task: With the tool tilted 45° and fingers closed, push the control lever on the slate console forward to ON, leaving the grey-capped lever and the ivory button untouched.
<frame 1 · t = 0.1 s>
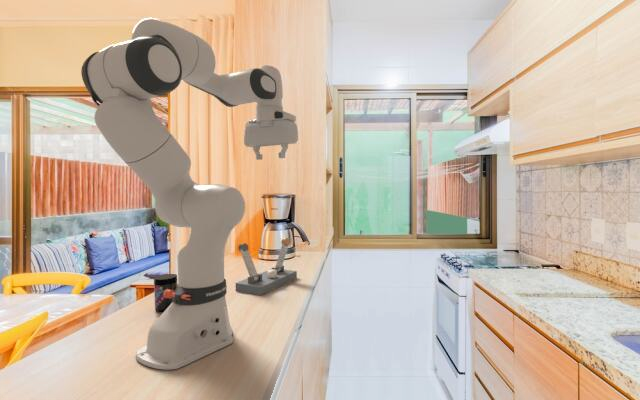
hand: (270, 158, 108), 48 cm above the kitchen counter, tool pointing down, fingers open, 8 cm apart
console: (268, 284, 126), on the kitchen counter
grey lever: (248, 262, 120), point 10 cm above the kitchen counter, hinge at 25.0°
supplement container: (166, 309, 102), on the kitchen counter
ivory button: (272, 273, 125), point 5 cm above the kitchen counter, slide at 0.0 cm
control lever: (282, 255, 131), point 10 cm above the kitchen counter, hinge at -20.0°
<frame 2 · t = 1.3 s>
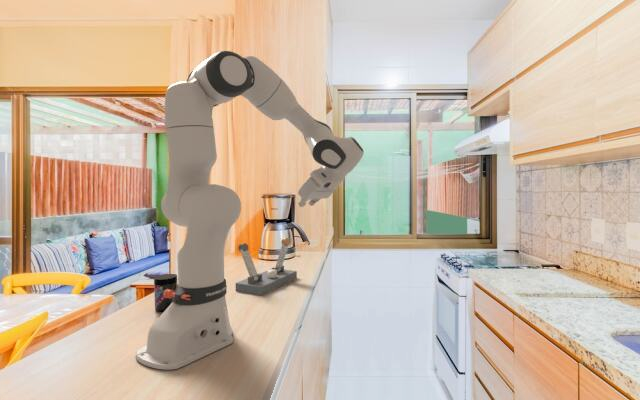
hand: (305, 205, 118), 32 cm above the kitchen counter, tool tilted 45°, fingers open, 6 cm apart
nothing on the kitchen counter moved.
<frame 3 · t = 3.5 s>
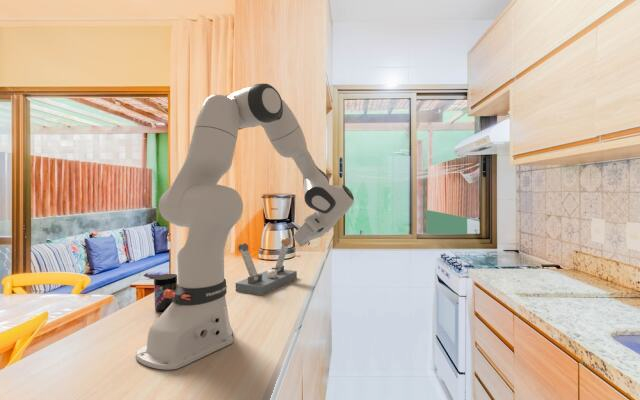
hand: (301, 244, 127), 15 cm above the kitchen counter, tool tilted 45°, fingers closed
nothing on the kitchen counter moved.
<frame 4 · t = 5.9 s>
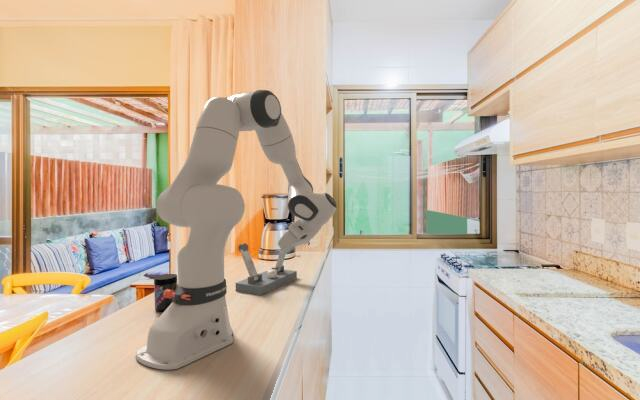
hand: (286, 251, 130), 12 cm above the kitchen counter, tool tilted 45°, fingers closed, pressing on control lever
control lever: (282, 255, 131), point 10 cm above the kitchen counter, hinge at -19.5°, touching gripper
everything else where it was.
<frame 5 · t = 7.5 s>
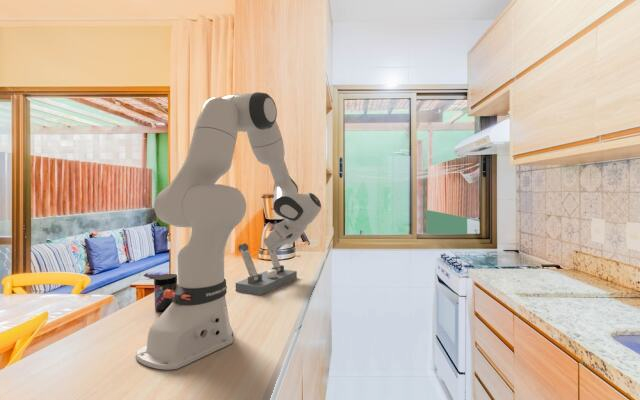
hand: (274, 250, 133), 12 cm above the kitchen counter, tool tilted 45°, fingers closed, pressing on control lever
control lever: (273, 254, 133), point 10 cm above the kitchen counter, hinge at 21.3°, touching gripper
everything else where it was.
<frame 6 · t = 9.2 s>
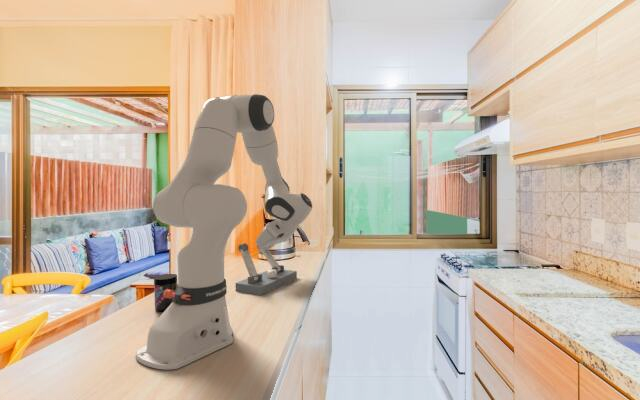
hand: (265, 249, 135), 12 cm above the kitchen counter, tool tilted 45°, fingers closed, pressing on control lever
control lever: (269, 257, 134), point 9 cm above the kitchen counter, hinge at 41.4°, touching gripper
everything else where it was.
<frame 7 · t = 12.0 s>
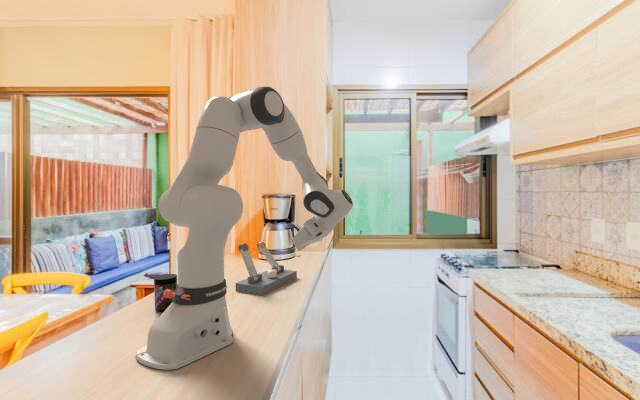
hand: (299, 248, 127), 14 cm above the kitchen counter, tool tilted 45°, fingers closed
control lever: (269, 257, 134), point 9 cm above the kitchen counter, hinge at 41.8°
everything else where it was.
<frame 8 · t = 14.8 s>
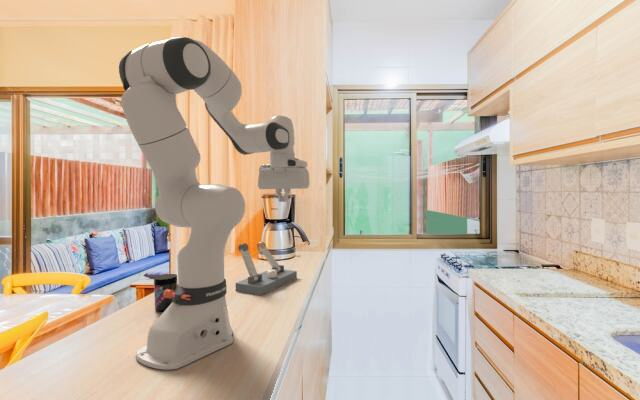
hand: (283, 201, 114), 33 cm above the kitchen counter, tool pointing down, fingers closed
nothing on the kitchen counter moved.
at the end: control lever at +42° (first picture: -20°); grey lever at +25° (first picture: +25°); ivory button slide at 0.0 cm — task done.
